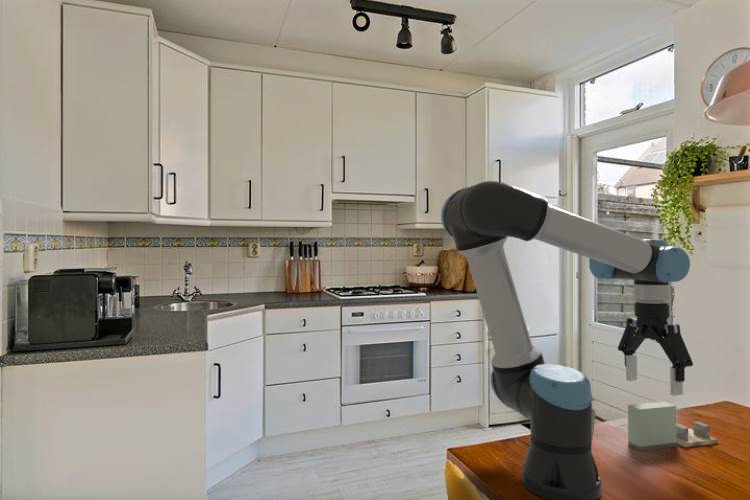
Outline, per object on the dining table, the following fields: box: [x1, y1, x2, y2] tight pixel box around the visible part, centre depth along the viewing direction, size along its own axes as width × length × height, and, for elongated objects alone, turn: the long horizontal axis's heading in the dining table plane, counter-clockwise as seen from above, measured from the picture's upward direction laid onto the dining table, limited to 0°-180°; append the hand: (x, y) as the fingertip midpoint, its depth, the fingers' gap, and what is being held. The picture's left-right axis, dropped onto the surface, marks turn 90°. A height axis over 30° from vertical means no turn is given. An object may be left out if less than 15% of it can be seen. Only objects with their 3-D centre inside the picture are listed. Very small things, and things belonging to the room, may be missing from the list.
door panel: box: [627, 401, 678, 452], centre depth 118 cm, size 4×11×10 cm, turn 105°
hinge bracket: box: [676, 420, 719, 448], centre depth 126 cm, size 10×16×4 cm, turn 15°
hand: (653, 387), depth 118 cm, fingers open, 13 cm apart
